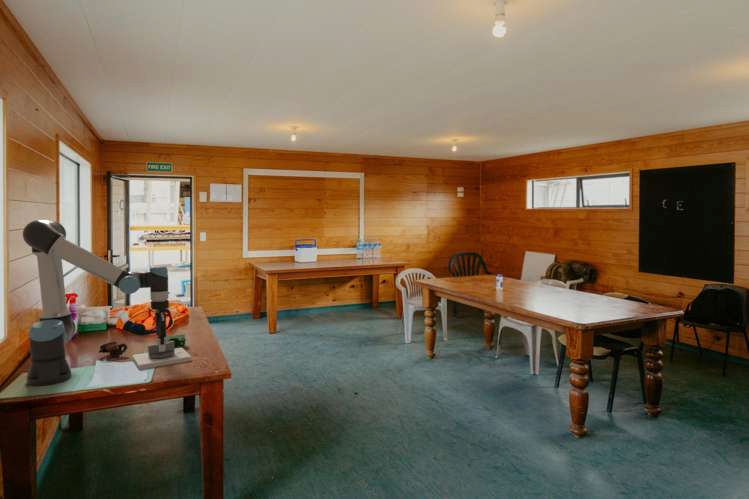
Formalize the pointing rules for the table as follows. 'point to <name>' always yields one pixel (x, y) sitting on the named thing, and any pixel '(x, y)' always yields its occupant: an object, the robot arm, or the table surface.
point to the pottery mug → (113, 350)
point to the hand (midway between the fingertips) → (161, 350)
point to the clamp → (176, 340)
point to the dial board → (146, 362)
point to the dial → (169, 351)
